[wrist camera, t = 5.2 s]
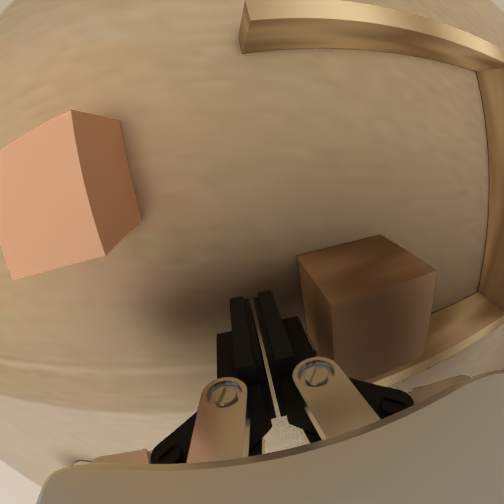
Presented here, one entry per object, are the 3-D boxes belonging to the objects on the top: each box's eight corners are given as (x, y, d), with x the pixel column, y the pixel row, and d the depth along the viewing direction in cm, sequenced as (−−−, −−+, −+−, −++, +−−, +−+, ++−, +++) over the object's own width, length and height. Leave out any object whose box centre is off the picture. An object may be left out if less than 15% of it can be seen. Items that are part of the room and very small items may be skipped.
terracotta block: (120, 121, 9) (70, 109, 5) (142, 218, 10) (105, 255, 7) (42, 154, 9) (-20, 164, 5) (64, 241, 10) (13, 280, 6)
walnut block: (380, 234, 12) (436, 270, 8) (380, 308, 13) (422, 356, 9) (296, 255, 11) (331, 305, 8) (307, 331, 13) (334, 391, 9)
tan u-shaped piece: (480, 61, 9) (515, 56, 6) (482, 298, 14) (508, 319, 11) (238, 36, 8) (245, 0, 5) (297, 369, 14) (311, 412, 11)
